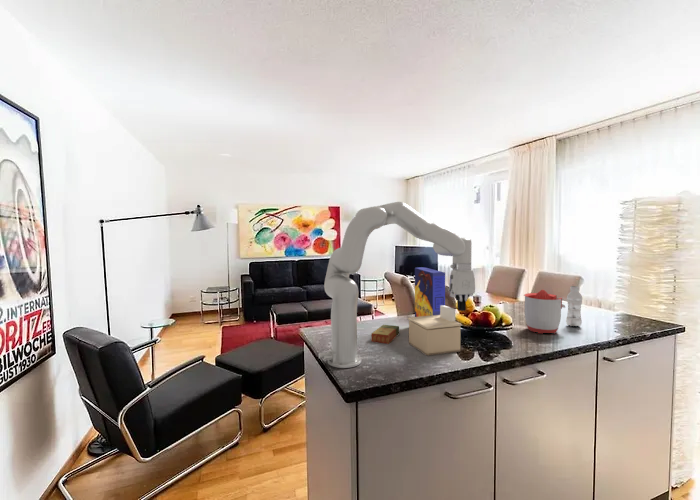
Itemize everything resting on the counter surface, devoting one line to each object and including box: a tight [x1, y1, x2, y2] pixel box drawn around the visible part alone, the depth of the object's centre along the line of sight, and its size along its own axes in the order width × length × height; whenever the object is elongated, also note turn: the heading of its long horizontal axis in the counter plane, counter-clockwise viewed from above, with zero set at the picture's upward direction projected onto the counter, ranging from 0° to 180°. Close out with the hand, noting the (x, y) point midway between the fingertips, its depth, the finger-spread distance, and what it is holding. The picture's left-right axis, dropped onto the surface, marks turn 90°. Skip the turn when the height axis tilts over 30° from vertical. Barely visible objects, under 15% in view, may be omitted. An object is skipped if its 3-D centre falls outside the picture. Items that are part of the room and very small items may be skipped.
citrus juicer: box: [523, 289, 566, 334], centre depth 162 cm, size 16×17×20 cm
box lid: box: [407, 304, 463, 329], centre depth 140 cm, size 16×16×6 cm
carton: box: [370, 324, 400, 345], centre depth 155 cm, size 8×16×4 cm, turn 155°
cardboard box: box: [408, 320, 461, 356], centre depth 141 cm, size 15×15×10 cm
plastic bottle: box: [565, 285, 583, 327], centre depth 168 cm, size 6×7×20 cm
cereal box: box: [414, 266, 446, 317], centre depth 162 cm, size 22×6×30 cm, turn 10°
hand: (461, 310), depth 144 cm, fingers closed
